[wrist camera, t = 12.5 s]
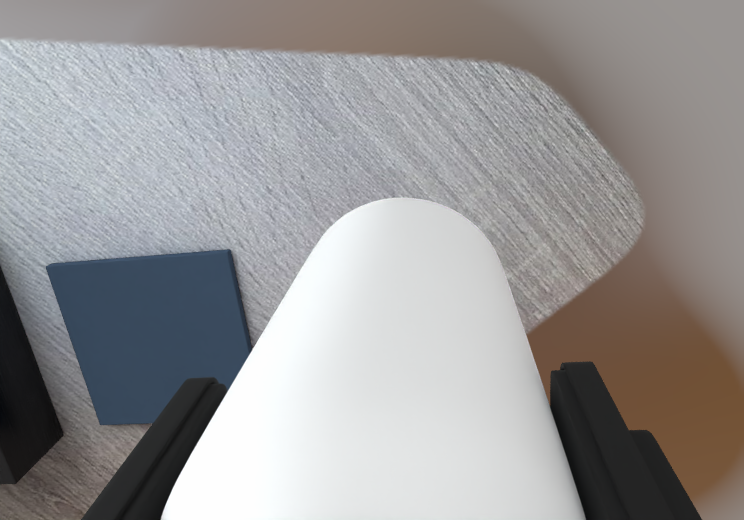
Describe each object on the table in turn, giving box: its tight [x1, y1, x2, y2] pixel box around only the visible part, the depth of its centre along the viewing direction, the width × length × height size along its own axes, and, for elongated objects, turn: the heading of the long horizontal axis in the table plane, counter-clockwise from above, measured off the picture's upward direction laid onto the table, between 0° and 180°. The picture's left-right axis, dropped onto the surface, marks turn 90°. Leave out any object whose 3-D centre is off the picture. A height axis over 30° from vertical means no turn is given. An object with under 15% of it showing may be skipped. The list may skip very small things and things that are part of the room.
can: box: [161, 198, 586, 520], centre depth 12 cm, size 6×6×12 cm
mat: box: [46, 250, 252, 425], centre depth 28 cm, size 10×10×1 cm
